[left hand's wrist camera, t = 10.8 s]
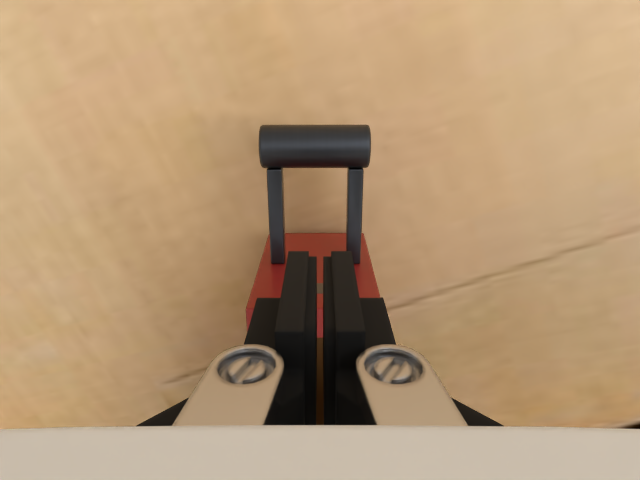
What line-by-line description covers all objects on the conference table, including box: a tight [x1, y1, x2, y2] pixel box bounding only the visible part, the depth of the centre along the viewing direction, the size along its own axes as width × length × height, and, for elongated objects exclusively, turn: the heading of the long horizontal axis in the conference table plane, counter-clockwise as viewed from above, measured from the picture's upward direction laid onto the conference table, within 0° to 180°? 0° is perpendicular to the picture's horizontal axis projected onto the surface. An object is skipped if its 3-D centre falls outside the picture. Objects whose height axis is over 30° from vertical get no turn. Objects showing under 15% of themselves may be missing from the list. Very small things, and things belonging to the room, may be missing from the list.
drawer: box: [246, 125, 380, 425], centre depth 21 cm, size 20×5×8 cm, turn 0°
